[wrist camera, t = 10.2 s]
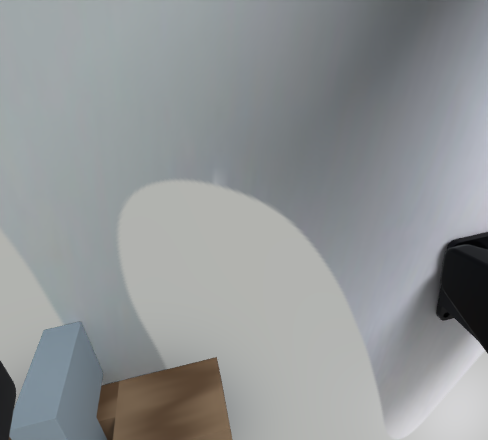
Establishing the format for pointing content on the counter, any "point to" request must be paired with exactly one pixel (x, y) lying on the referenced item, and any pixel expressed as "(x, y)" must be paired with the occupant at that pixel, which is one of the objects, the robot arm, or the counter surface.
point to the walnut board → (166, 405)
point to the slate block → (60, 389)
